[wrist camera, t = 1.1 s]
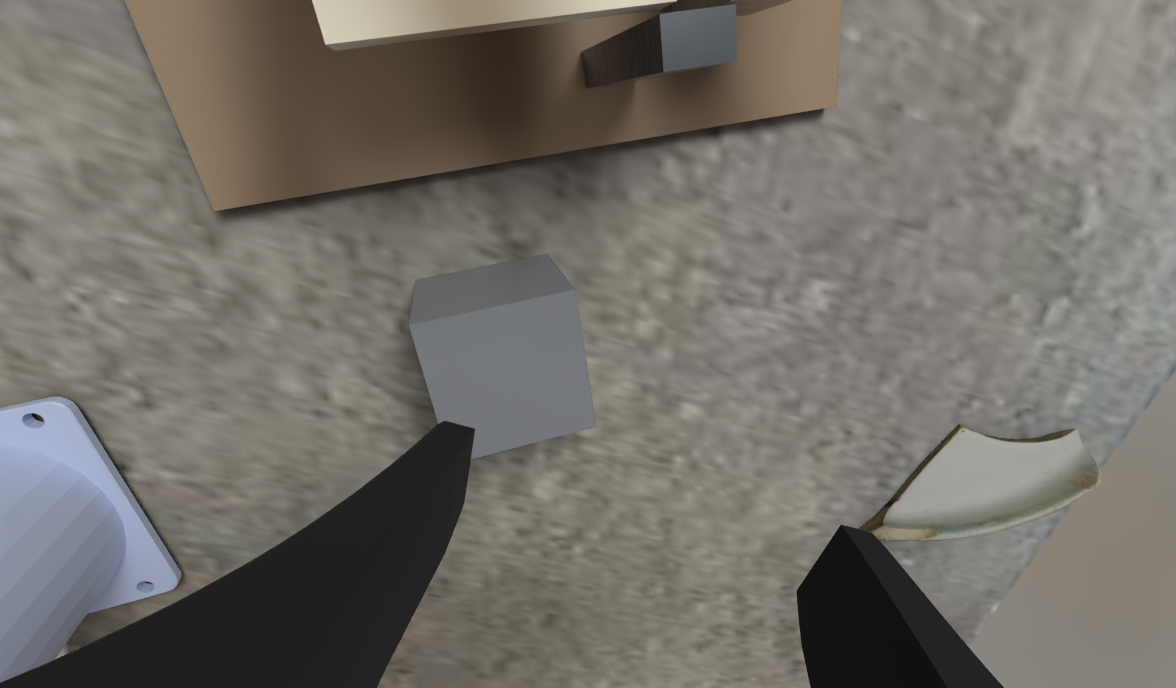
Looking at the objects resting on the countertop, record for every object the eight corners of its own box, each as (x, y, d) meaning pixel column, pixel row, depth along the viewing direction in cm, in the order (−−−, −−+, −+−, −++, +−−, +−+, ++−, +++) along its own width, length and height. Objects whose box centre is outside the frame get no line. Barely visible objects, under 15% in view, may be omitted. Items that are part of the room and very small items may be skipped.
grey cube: (449, 394, 20) (450, 464, 16) (416, 279, 18) (408, 325, 14) (566, 366, 21) (596, 426, 17) (546, 253, 19) (575, 289, 15)
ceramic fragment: (850, 530, 29) (907, 585, 25) (854, 453, 27) (917, 502, 23) (1058, 452, 31) (1136, 493, 28) (1077, 375, 29) (1164, 410, 26)
